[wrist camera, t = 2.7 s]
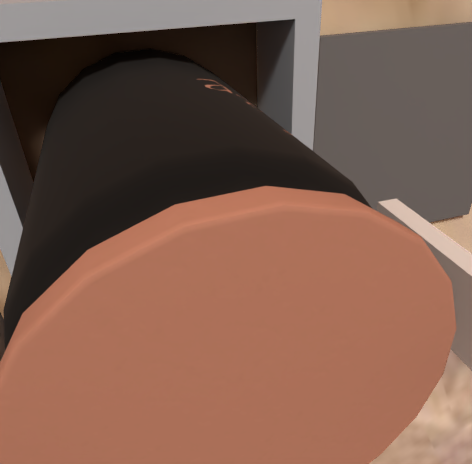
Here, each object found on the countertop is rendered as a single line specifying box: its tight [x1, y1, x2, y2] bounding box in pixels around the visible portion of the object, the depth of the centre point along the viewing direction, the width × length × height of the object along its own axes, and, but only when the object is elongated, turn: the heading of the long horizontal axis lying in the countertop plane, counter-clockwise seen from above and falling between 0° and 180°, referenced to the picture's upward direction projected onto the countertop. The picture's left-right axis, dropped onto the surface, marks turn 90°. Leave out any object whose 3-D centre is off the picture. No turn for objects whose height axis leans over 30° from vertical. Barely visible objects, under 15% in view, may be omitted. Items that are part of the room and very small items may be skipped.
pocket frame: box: [0, 0, 322, 276], centre depth 22 cm, size 15×15×5 cm
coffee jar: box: [0, 49, 456, 464], centre depth 17 cm, size 11×11×18 cm
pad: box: [313, 22, 472, 222], centre depth 29 cm, size 14×14×1 cm
